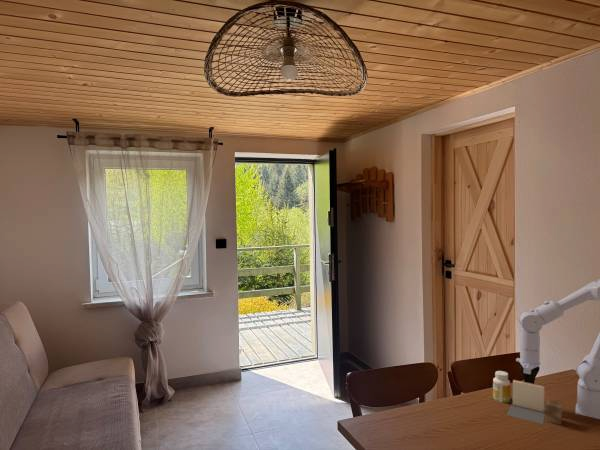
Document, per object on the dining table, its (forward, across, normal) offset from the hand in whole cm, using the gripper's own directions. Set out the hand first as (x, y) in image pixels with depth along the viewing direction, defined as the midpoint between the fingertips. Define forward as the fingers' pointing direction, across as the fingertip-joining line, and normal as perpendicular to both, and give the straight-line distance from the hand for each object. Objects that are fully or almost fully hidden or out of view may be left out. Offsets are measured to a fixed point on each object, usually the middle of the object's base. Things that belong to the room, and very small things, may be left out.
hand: (529, 387), depth 138 cm
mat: (+6, +6, 0) cm, 9 cm away
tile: (+5, +3, 0) cm, 6 cm away
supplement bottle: (+6, +2, -8) cm, 10 cm away
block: (+6, +8, +8) cm, 13 cm away
